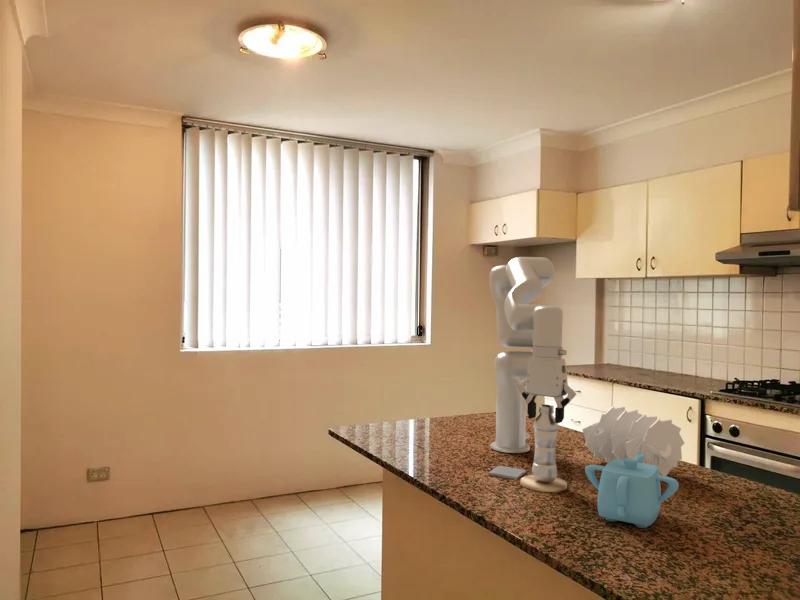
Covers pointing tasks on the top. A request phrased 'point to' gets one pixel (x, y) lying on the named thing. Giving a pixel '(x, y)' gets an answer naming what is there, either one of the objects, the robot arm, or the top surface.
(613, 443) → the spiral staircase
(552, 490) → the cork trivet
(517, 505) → the top surface
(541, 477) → the silver metal bottle
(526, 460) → the top surface
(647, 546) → the top surface
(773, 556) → the top surface
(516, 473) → the slate coaster
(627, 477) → the teapot
